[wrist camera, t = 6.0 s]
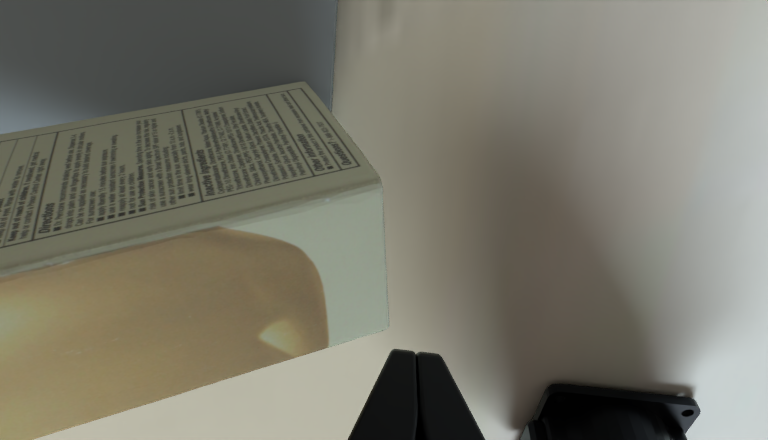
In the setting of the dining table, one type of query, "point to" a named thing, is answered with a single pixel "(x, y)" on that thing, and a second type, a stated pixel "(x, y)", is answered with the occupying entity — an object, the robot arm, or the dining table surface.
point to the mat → (154, 54)
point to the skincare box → (179, 252)
